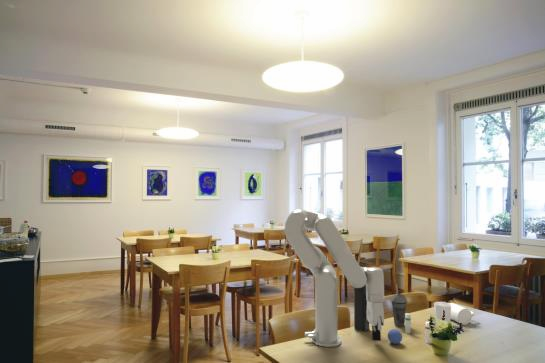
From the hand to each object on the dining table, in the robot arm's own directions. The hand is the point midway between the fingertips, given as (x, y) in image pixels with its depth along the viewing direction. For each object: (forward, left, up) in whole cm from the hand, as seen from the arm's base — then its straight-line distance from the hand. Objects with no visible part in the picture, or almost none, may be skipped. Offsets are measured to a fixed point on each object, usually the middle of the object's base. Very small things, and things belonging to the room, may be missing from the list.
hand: (376, 339), depth 163 cm
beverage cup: (+19, +22, -2) cm, 29 cm away
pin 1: (+19, +12, -2) cm, 23 cm away
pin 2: (+23, 0, -2) cm, 23 cm away
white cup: (+41, +22, -2) cm, 47 cm away
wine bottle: (-1, +18, -2) cm, 18 cm away
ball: (+8, 0, +1) cm, 8 cm away
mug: (+53, +26, -2) cm, 59 cm away
